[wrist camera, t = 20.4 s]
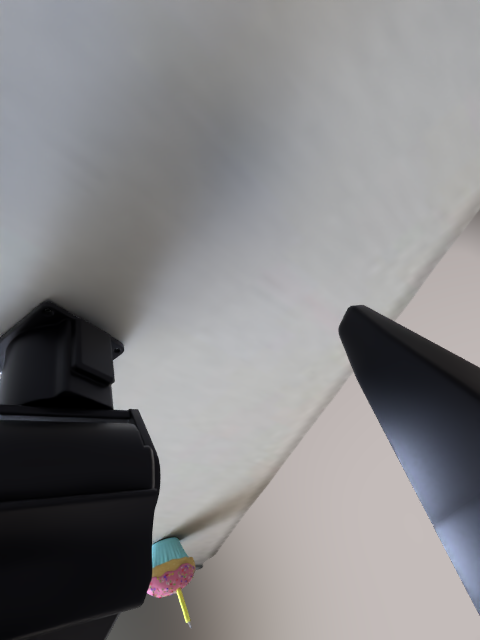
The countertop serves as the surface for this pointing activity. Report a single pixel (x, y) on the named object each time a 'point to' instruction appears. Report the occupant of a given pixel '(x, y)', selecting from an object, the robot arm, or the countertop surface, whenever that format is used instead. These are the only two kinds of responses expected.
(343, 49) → the countertop surface
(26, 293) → the countertop surface
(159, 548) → the cupcake
